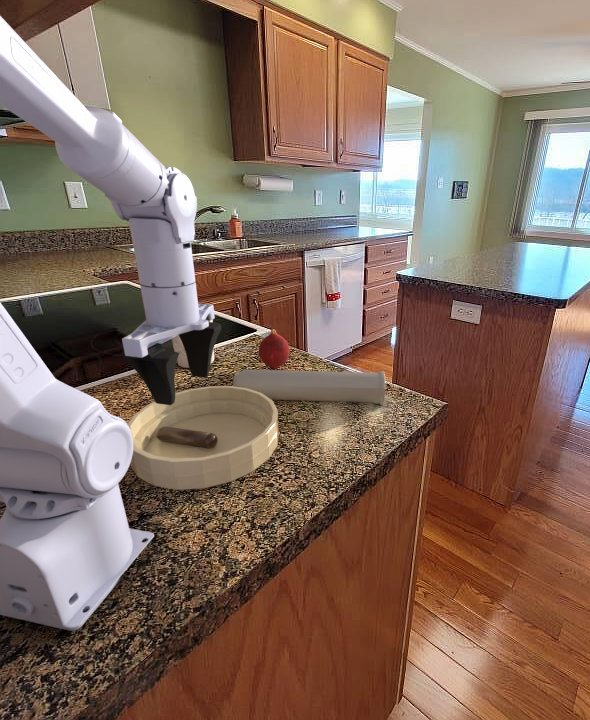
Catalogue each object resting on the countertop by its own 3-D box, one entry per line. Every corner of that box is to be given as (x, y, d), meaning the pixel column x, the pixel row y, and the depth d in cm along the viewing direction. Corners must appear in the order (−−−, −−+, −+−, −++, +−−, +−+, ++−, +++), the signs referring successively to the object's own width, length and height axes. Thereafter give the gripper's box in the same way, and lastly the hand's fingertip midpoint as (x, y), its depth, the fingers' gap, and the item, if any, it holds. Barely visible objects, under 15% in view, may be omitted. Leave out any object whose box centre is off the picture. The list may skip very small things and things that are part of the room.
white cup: (181, 354, 81) (174, 306, 78) (221, 354, 82) (216, 307, 78) (168, 370, 74) (160, 318, 70) (211, 369, 75) (206, 319, 71)
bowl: (242, 505, 44) (239, 472, 42) (95, 480, 46) (86, 448, 44) (296, 420, 60) (295, 394, 59) (186, 405, 63) (182, 379, 61)
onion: (295, 371, 76) (294, 332, 73) (266, 377, 73) (264, 337, 70) (283, 360, 81) (281, 323, 78) (255, 366, 78) (252, 327, 75)
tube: (225, 384, 61) (385, 388, 62) (233, 361, 65) (384, 365, 66) (231, 407, 65) (383, 410, 66) (239, 384, 69) (382, 387, 70)
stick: (222, 434, 53) (215, 432, 51) (218, 449, 52) (211, 448, 50) (164, 426, 54) (155, 424, 52) (160, 441, 53) (151, 439, 52)
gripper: (159, 300, 38) (178, 422, 43) (231, 273, 51) (239, 369, 56) (93, 294, 39) (120, 414, 44) (181, 269, 52) (194, 363, 57)
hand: (184, 388), depth 50 cm, fingers open, 7 cm apart
